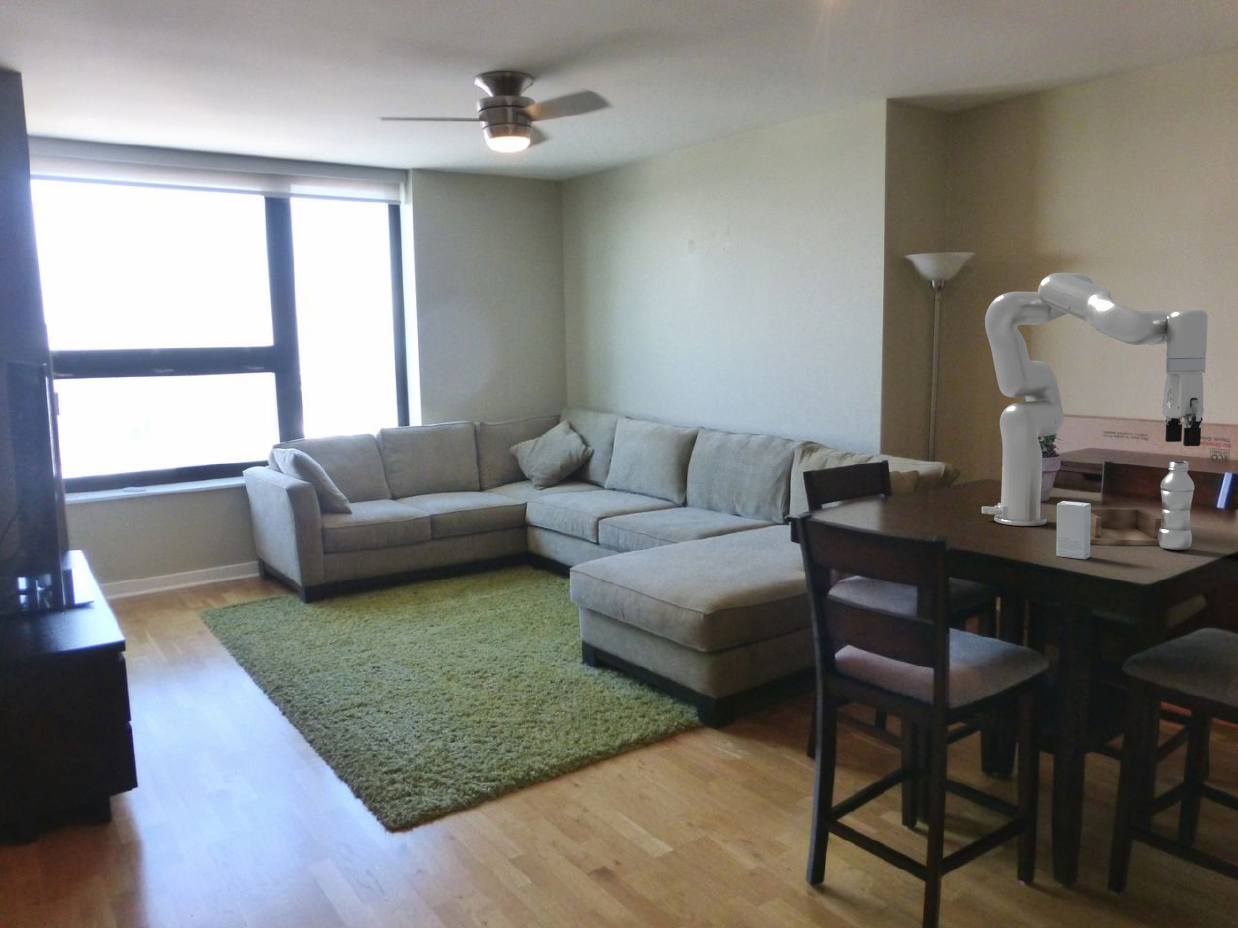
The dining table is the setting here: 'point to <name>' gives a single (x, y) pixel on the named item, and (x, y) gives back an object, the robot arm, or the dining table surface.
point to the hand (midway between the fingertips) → (1182, 443)
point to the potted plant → (1048, 464)
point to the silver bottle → (1176, 507)
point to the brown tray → (1123, 527)
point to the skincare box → (1073, 529)
